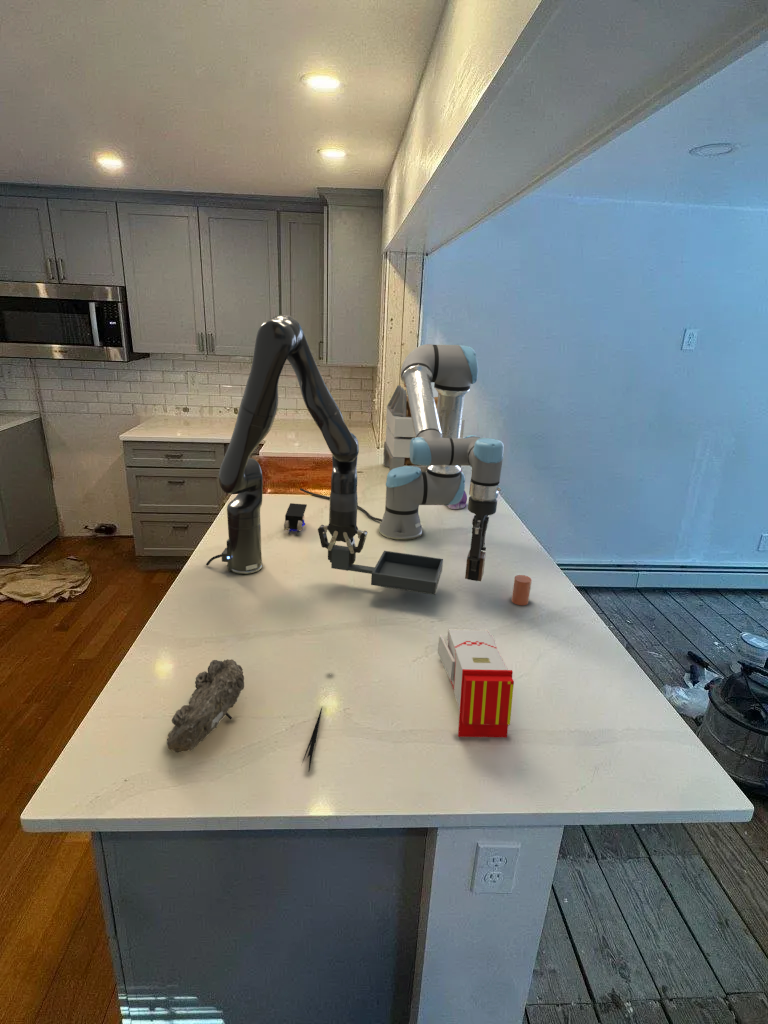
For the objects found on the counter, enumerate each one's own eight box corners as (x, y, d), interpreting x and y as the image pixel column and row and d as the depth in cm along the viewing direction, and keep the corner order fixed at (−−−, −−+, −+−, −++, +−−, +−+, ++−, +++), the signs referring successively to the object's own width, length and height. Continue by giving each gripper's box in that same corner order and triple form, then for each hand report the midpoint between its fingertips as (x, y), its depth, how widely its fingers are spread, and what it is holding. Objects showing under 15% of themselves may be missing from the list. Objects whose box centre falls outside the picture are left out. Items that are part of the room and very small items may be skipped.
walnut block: (464, 578, 158) (467, 556, 155) (467, 571, 162) (469, 549, 159) (481, 581, 156) (483, 558, 154) (483, 574, 160) (486, 552, 158)
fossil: (192, 660, 117) (244, 628, 112) (224, 691, 120) (276, 661, 115) (142, 746, 98) (202, 712, 93) (182, 779, 101) (242, 748, 96)
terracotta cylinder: (508, 600, 157) (511, 577, 155) (518, 595, 160) (521, 573, 158) (521, 607, 154) (524, 584, 151) (531, 602, 157) (535, 579, 154)
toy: (488, 613, 130) (523, 677, 101) (484, 667, 133) (517, 744, 104) (435, 612, 130) (455, 676, 101) (432, 666, 133) (451, 743, 103)
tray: (324, 577, 153) (324, 557, 151) (340, 555, 167) (341, 536, 165) (434, 594, 148) (436, 574, 146) (442, 570, 162) (444, 551, 160)
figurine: (453, 511, 224) (457, 474, 219) (439, 503, 233) (442, 468, 228) (473, 508, 228) (476, 472, 223) (458, 500, 237) (462, 466, 232)
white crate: (382, 463, 289) (386, 382, 275) (445, 464, 293) (451, 384, 279) (390, 482, 257) (394, 392, 243) (460, 483, 261) (468, 394, 247)
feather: (331, 679, 122) (336, 673, 122) (307, 777, 96) (313, 769, 95) (324, 675, 122) (329, 669, 121) (298, 772, 95) (304, 764, 95)
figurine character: (303, 540, 193) (307, 520, 207) (302, 521, 190) (307, 502, 203) (283, 540, 193) (289, 520, 207) (282, 520, 190) (288, 501, 203)
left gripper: (313, 507, 151) (312, 564, 157) (365, 514, 149) (362, 572, 155) (322, 498, 158) (321, 554, 164) (372, 505, 156) (369, 561, 162)
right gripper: (493, 510, 142) (483, 592, 150) (501, 489, 157) (491, 565, 166) (463, 505, 144) (455, 587, 152) (474, 485, 159) (466, 560, 168)
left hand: (341, 562), depth 159 cm, fingers closed on tray, 5 cm apart
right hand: (474, 575), depth 159 cm, fingers closed on walnut block, 4 cm apart
